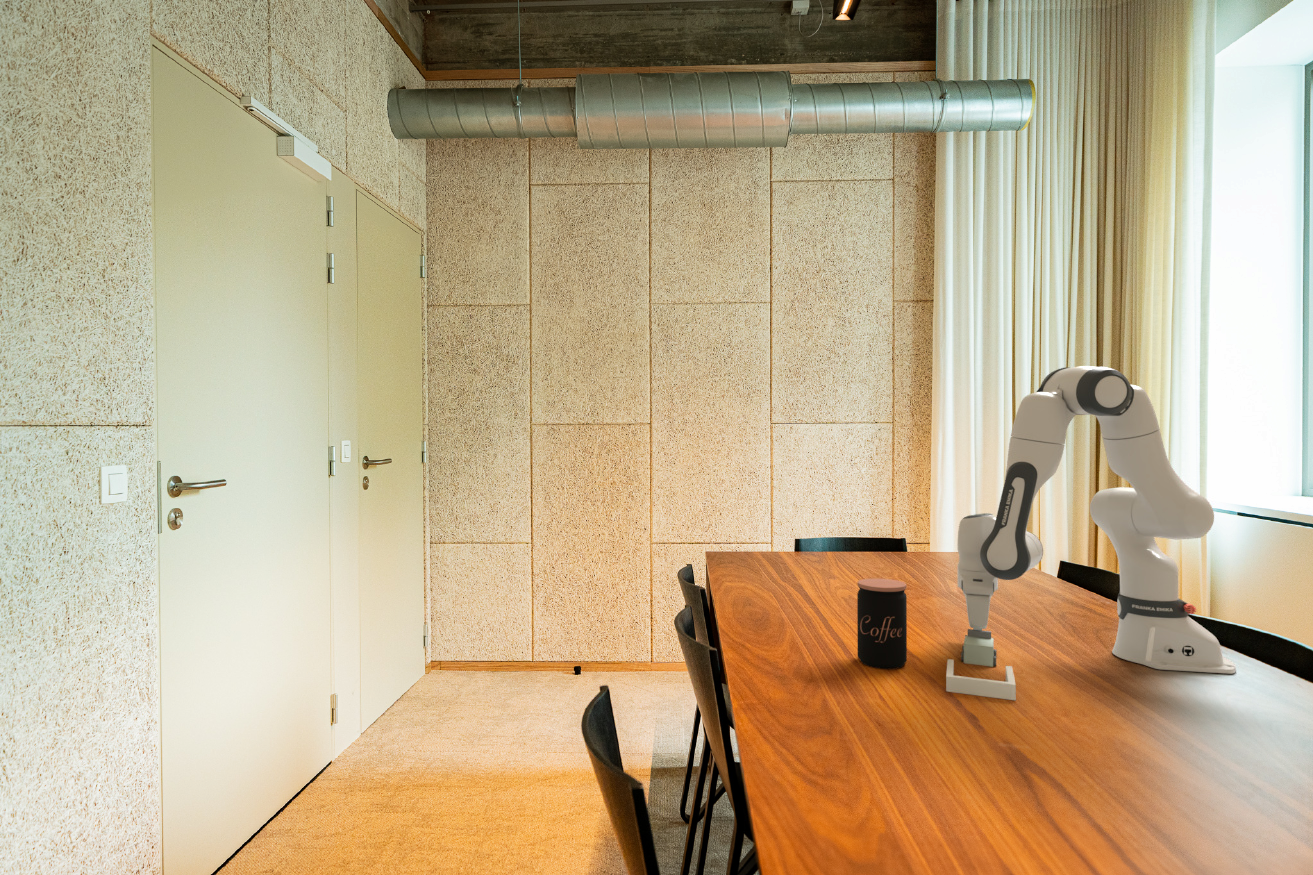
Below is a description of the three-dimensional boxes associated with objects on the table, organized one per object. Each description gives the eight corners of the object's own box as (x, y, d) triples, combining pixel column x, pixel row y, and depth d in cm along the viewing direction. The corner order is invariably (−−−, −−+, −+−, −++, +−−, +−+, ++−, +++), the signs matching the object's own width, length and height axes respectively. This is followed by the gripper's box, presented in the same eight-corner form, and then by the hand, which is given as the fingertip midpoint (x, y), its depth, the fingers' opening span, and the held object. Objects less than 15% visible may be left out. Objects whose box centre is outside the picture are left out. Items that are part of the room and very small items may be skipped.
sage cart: (996, 657, 163) (996, 631, 163) (996, 667, 156) (996, 640, 156) (962, 653, 166) (962, 628, 166) (960, 663, 159) (960, 636, 159)
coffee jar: (852, 665, 157) (852, 584, 157) (862, 652, 166) (862, 576, 167) (903, 672, 152) (902, 589, 152) (910, 659, 161) (910, 580, 162)
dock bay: (1012, 680, 147) (1012, 666, 147) (1015, 700, 136) (1015, 684, 136) (947, 673, 152) (947, 659, 152) (946, 691, 141) (946, 676, 141)
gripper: (963, 572, 180) (963, 626, 180) (962, 587, 161) (962, 647, 161) (990, 574, 178) (991, 629, 177) (993, 589, 159) (993, 651, 159)
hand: (977, 638), depth 169 cm, fingers closed
